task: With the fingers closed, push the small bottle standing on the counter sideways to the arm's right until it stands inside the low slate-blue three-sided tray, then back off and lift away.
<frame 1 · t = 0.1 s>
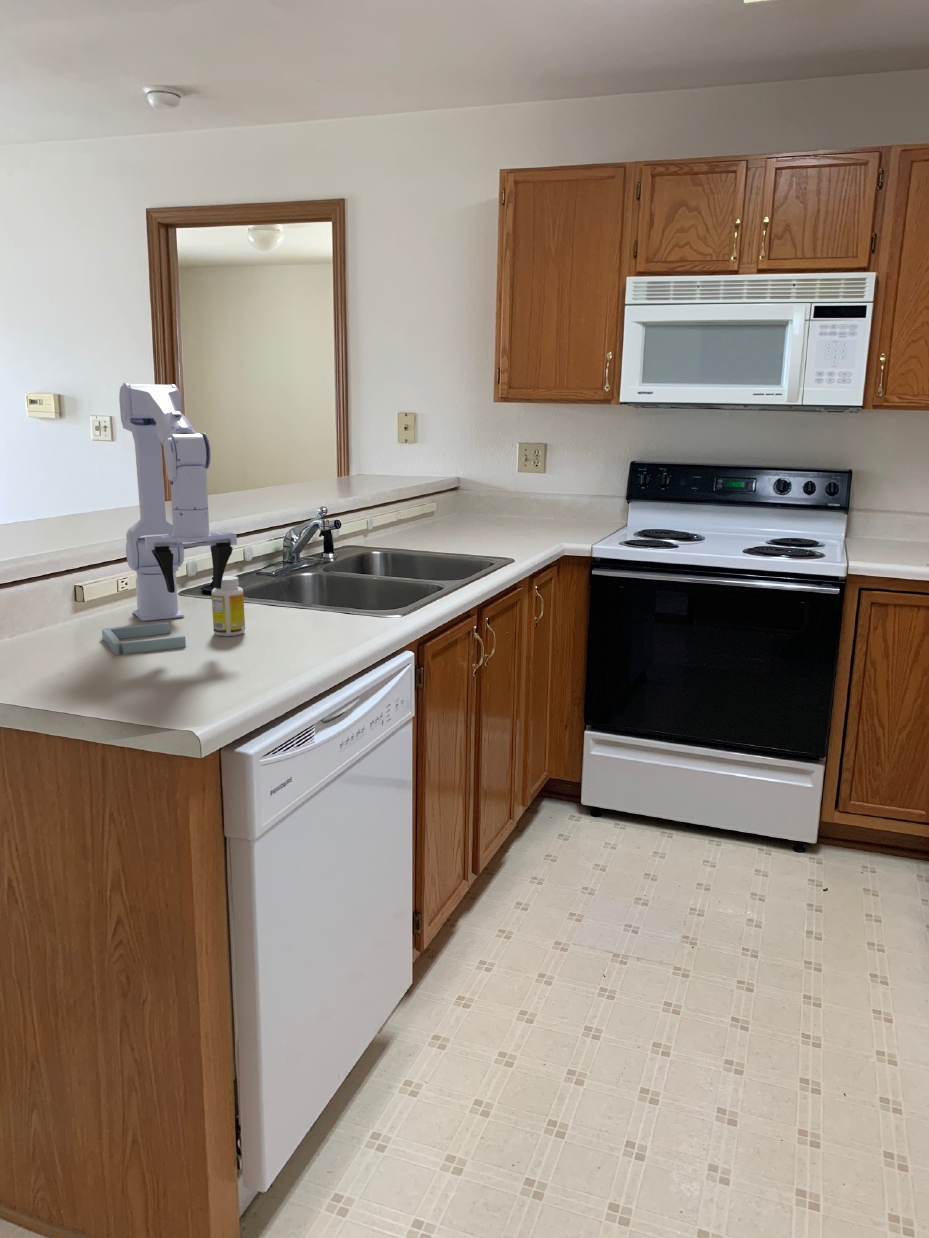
hand: (194, 589, 153), 10 cm above the worktop, tool pointing down, fingers open, 7 cm apart
supplement bottle: (229, 634, 166), on the worktop
tray: (143, 642, 158), on the worktop
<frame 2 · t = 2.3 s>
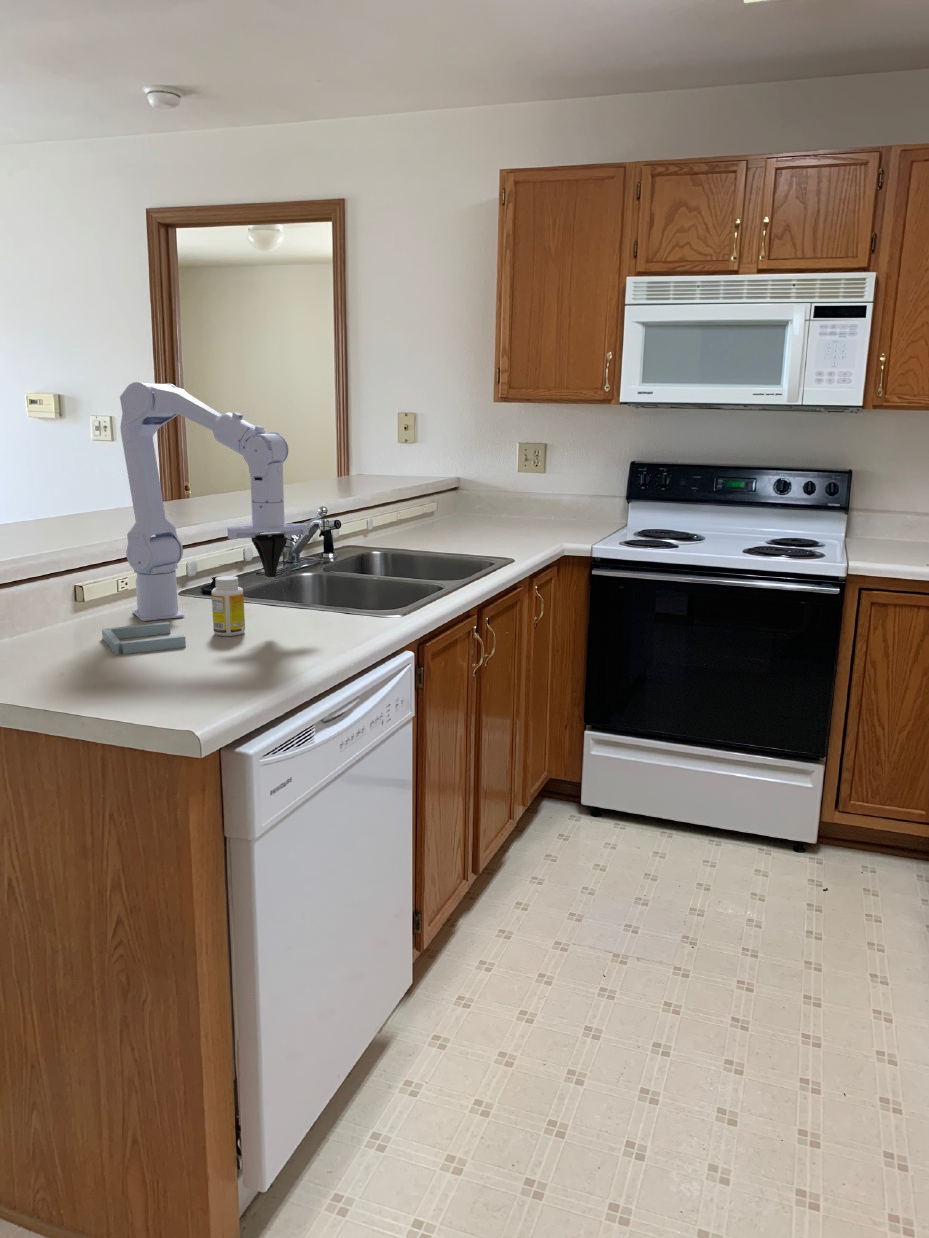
hand: (270, 576, 167), 10 cm above the worktop, tool pointing down, fingers closed
nothing on the worktop moved.
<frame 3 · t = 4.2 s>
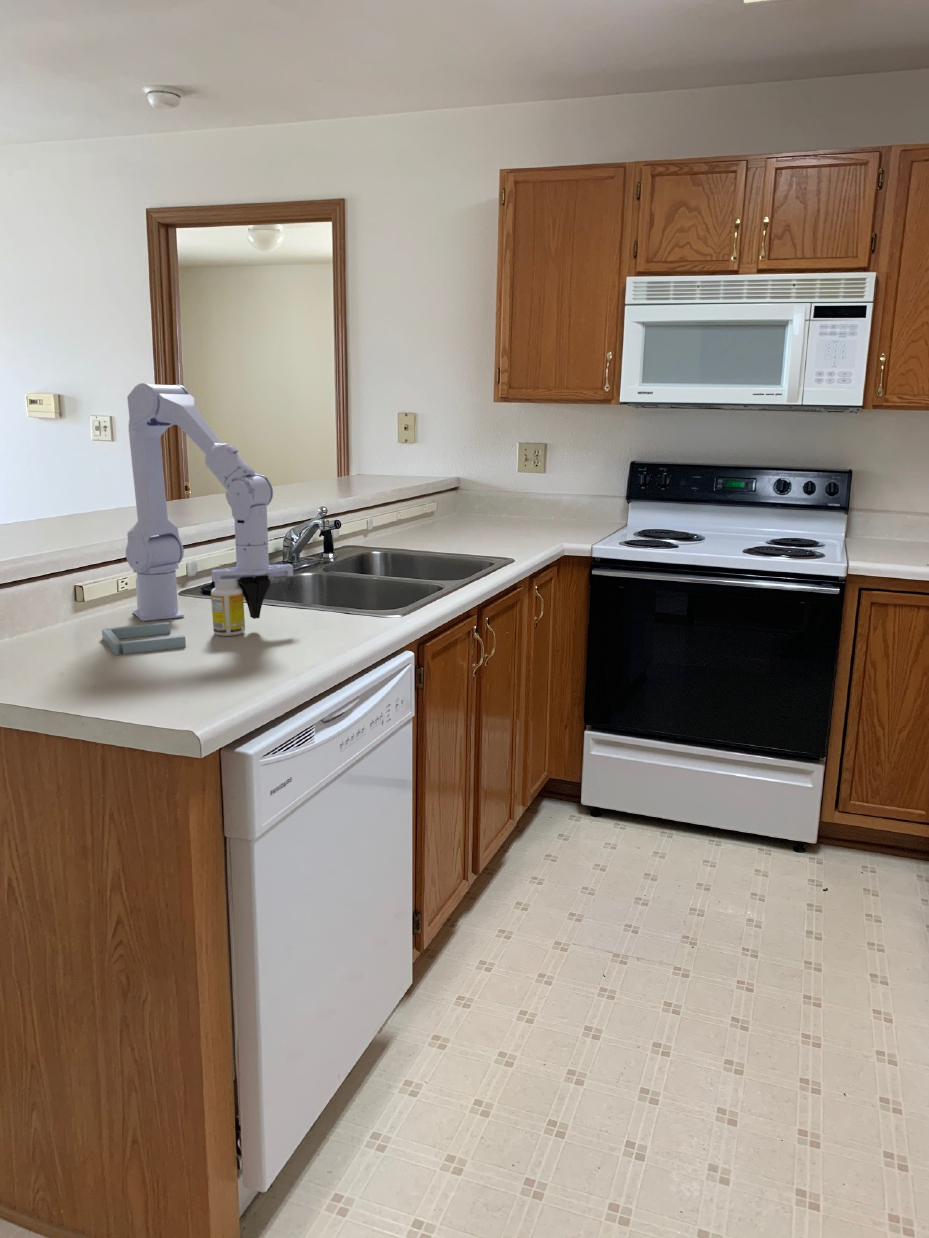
hand: (254, 617, 167), 2 cm above the worktop, tool pointing down, fingers closed
supplement bottle: (229, 634, 166), on the worktop, touching gripper
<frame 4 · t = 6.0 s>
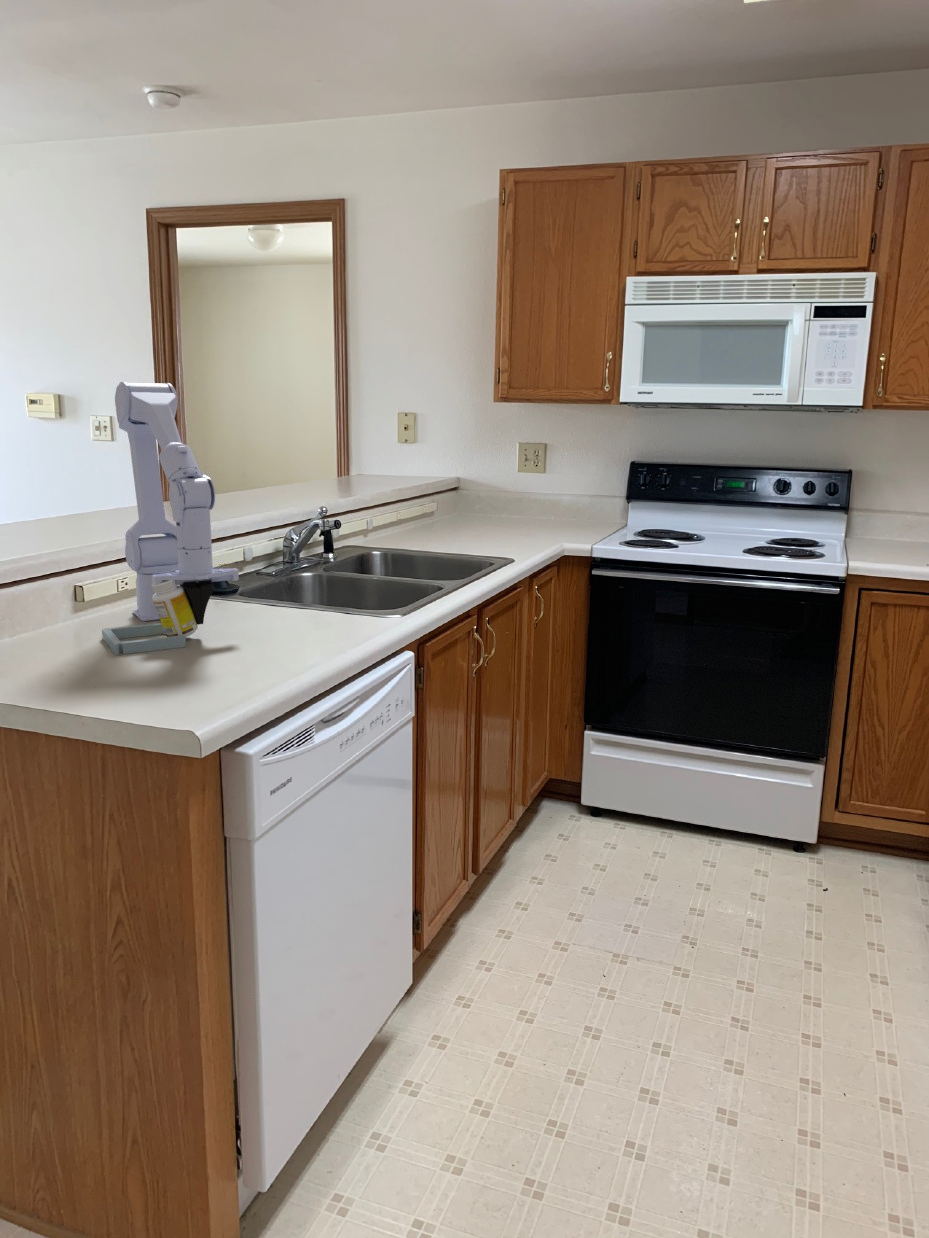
hand: (198, 623, 162), 2 cm above the worktop, tool pointing down, fingers closed
supplement bottle: (183, 635, 161), point 1 cm above the worktop, touching gripper
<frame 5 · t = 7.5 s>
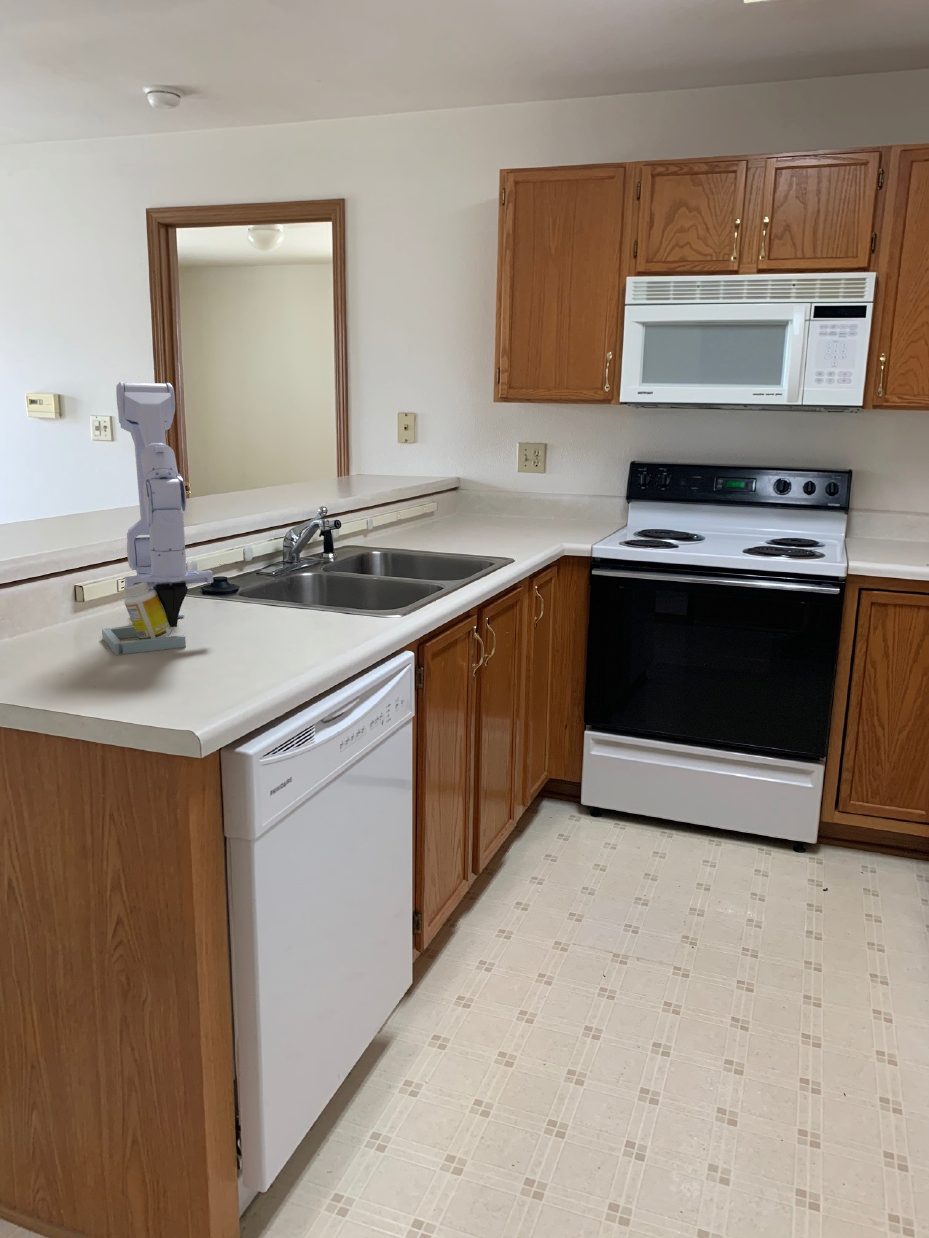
hand: (172, 626, 160), 2 cm above the worktop, tool pointing down, fingers closed
supplement bottle: (156, 638, 159), point 1 cm above the worktop, touching gripper
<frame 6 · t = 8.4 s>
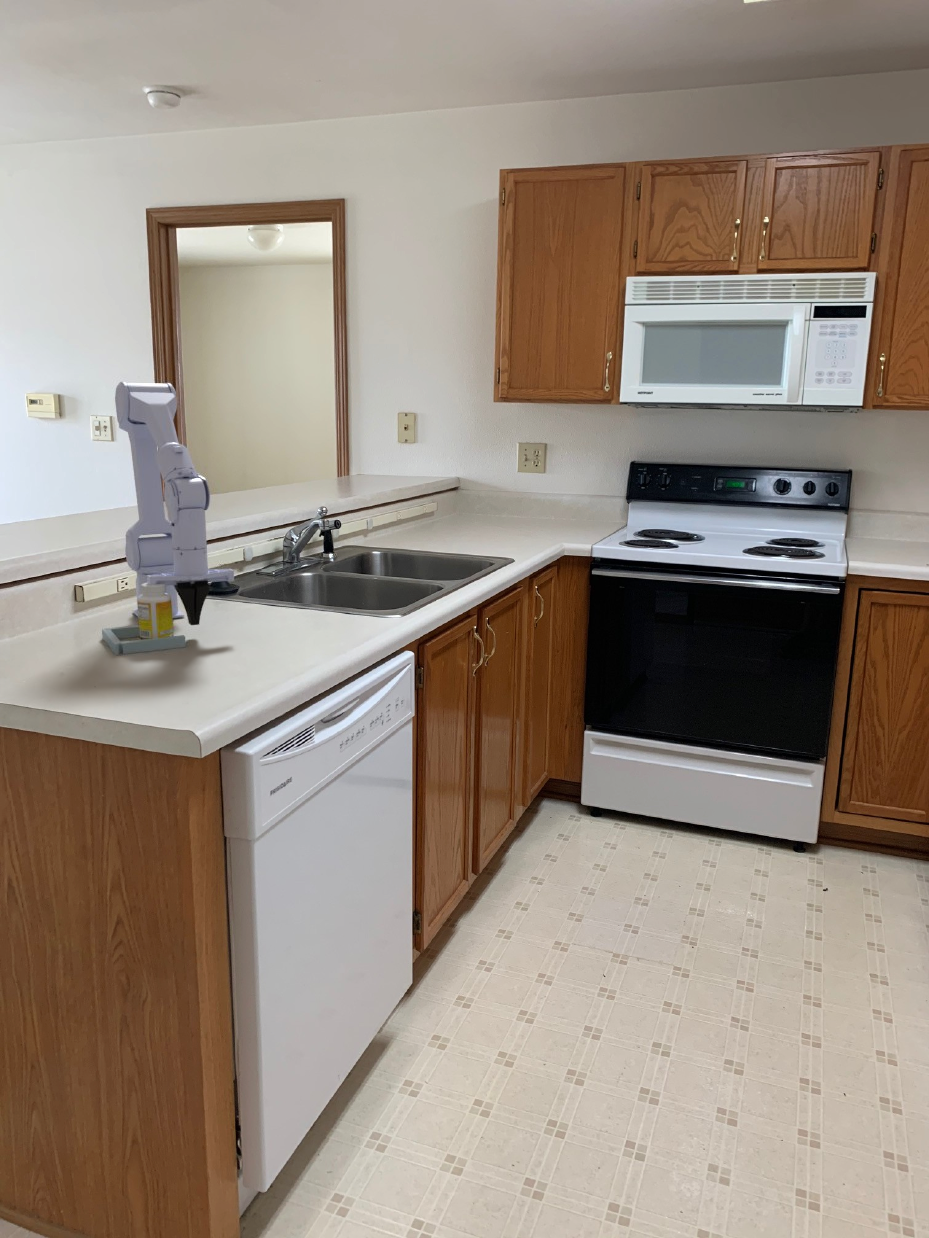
hand: (193, 623, 162), 2 cm above the worktop, tool pointing down, fingers closed
supplement bottle: (157, 642, 159), on the worktop
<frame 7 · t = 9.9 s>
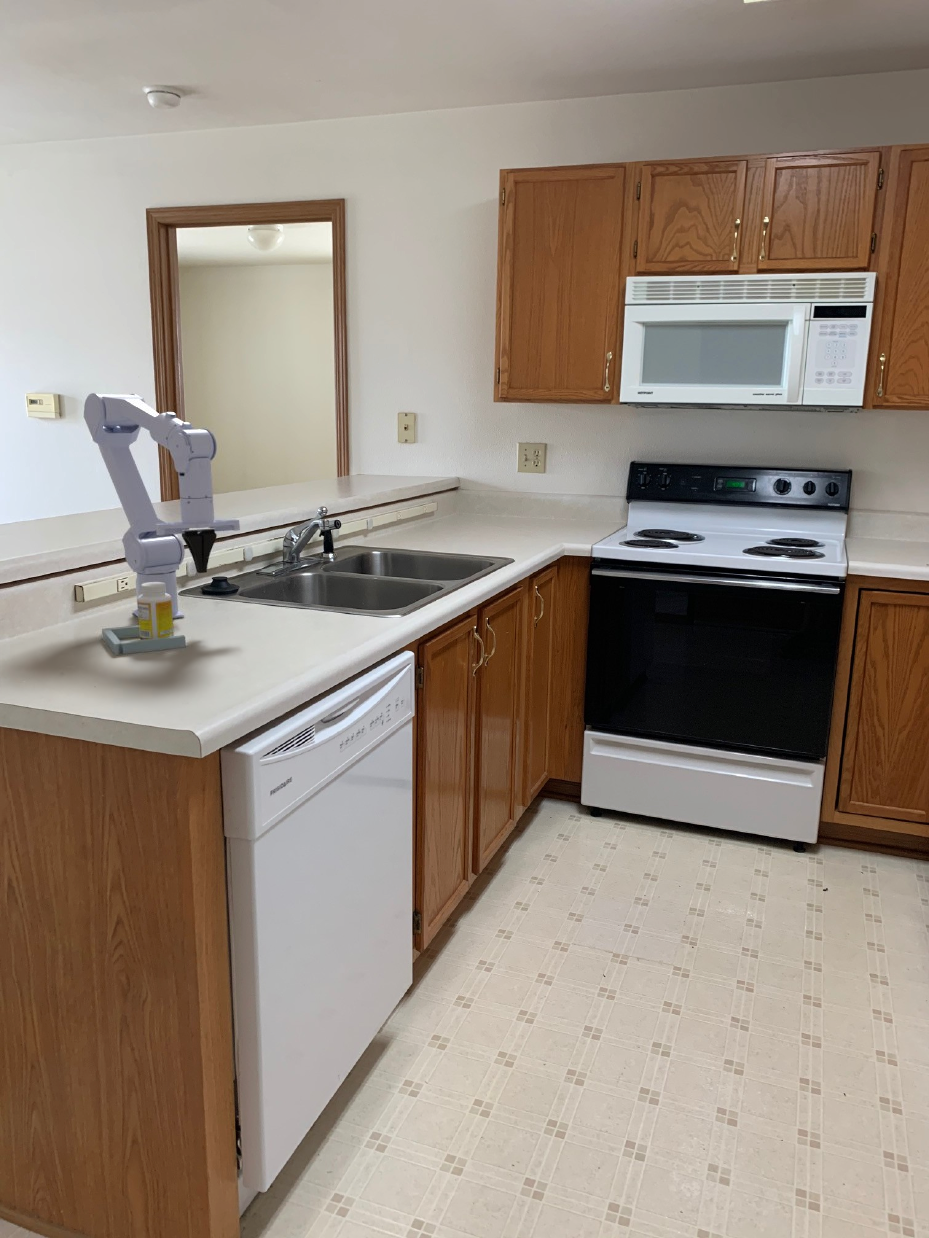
hand: (201, 572, 167), 10 cm above the worktop, tool pointing down, fingers closed
nothing on the worktop moved.
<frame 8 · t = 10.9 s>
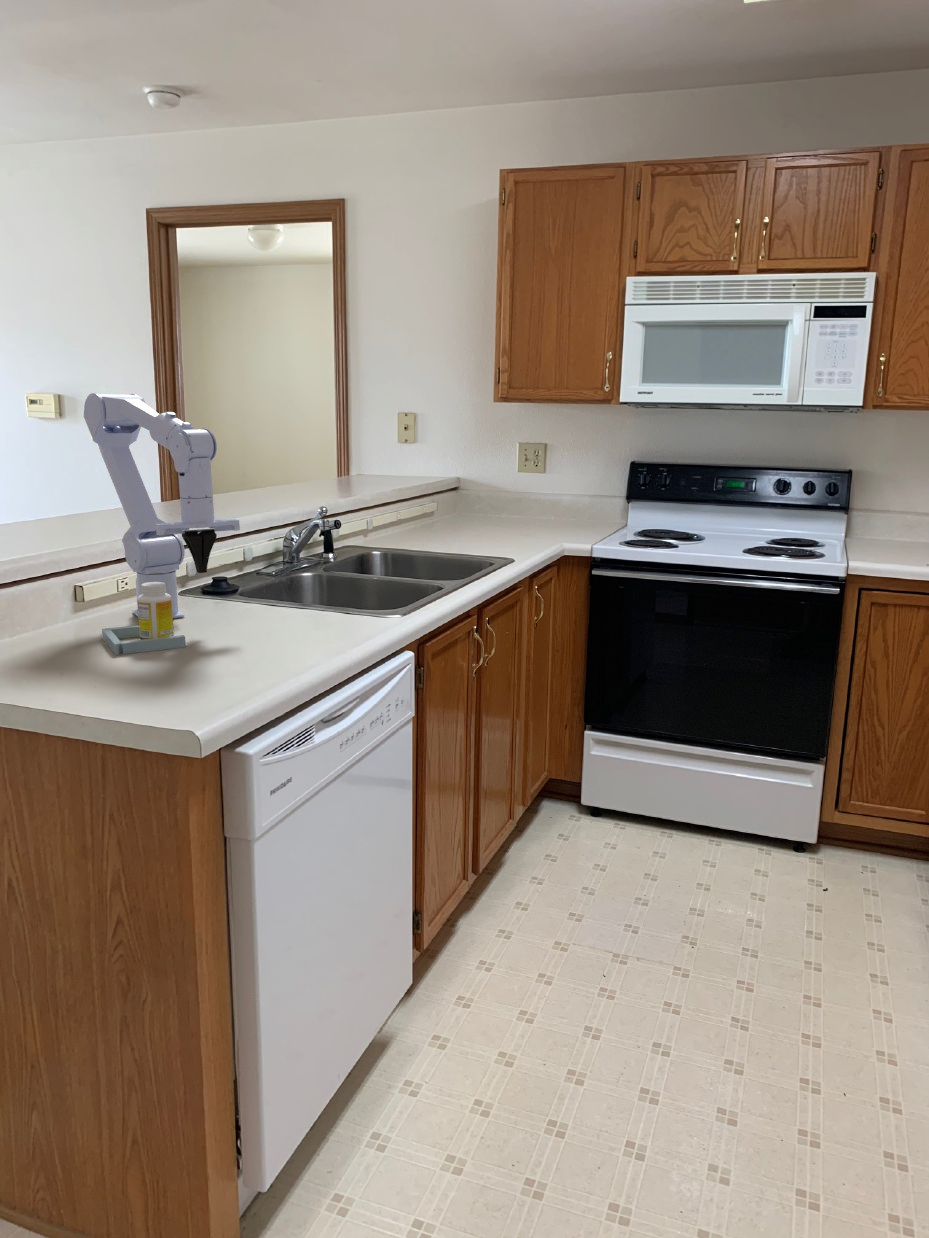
hand: (201, 572, 167), 10 cm above the worktop, tool pointing down, fingers closed
nothing on the worktop moved.
at the end: supplement bottle inside the target area on the tray (2.5 cm from its centre), point 0.0 cm above the tray's base; supplement bottle tilted 0°; the gripper is holding nothing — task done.
